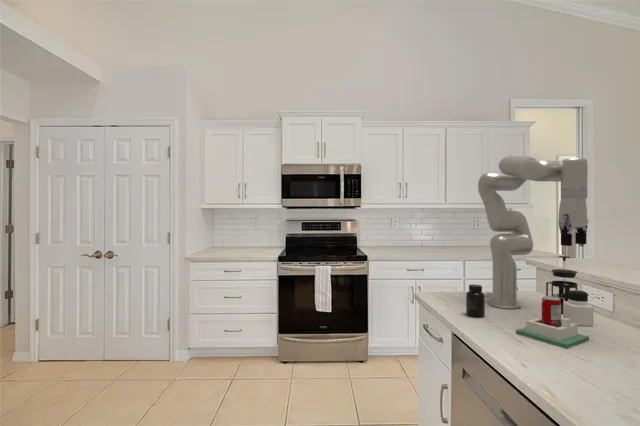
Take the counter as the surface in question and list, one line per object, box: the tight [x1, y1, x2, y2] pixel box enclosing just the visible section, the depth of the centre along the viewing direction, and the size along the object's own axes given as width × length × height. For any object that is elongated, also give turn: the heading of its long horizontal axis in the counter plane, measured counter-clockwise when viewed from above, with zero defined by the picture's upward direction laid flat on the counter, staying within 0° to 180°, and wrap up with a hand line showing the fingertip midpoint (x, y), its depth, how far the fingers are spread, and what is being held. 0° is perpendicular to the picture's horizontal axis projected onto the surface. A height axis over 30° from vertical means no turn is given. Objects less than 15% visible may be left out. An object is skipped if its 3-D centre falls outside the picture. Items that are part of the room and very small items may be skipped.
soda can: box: [541, 295, 562, 328], centre depth 122 cm, size 6×6×12 cm
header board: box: [515, 316, 590, 349], centre depth 122 cm, size 16×14×7 cm
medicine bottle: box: [562, 289, 594, 327], centre depth 137 cm, size 7×7×12 cm
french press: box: [545, 255, 578, 315], centre depth 152 cm, size 12×9×23 cm
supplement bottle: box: [465, 283, 486, 319], centre depth 147 cm, size 7×7×12 cm
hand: (573, 244), depth 125 cm, fingers open, 9 cm apart
